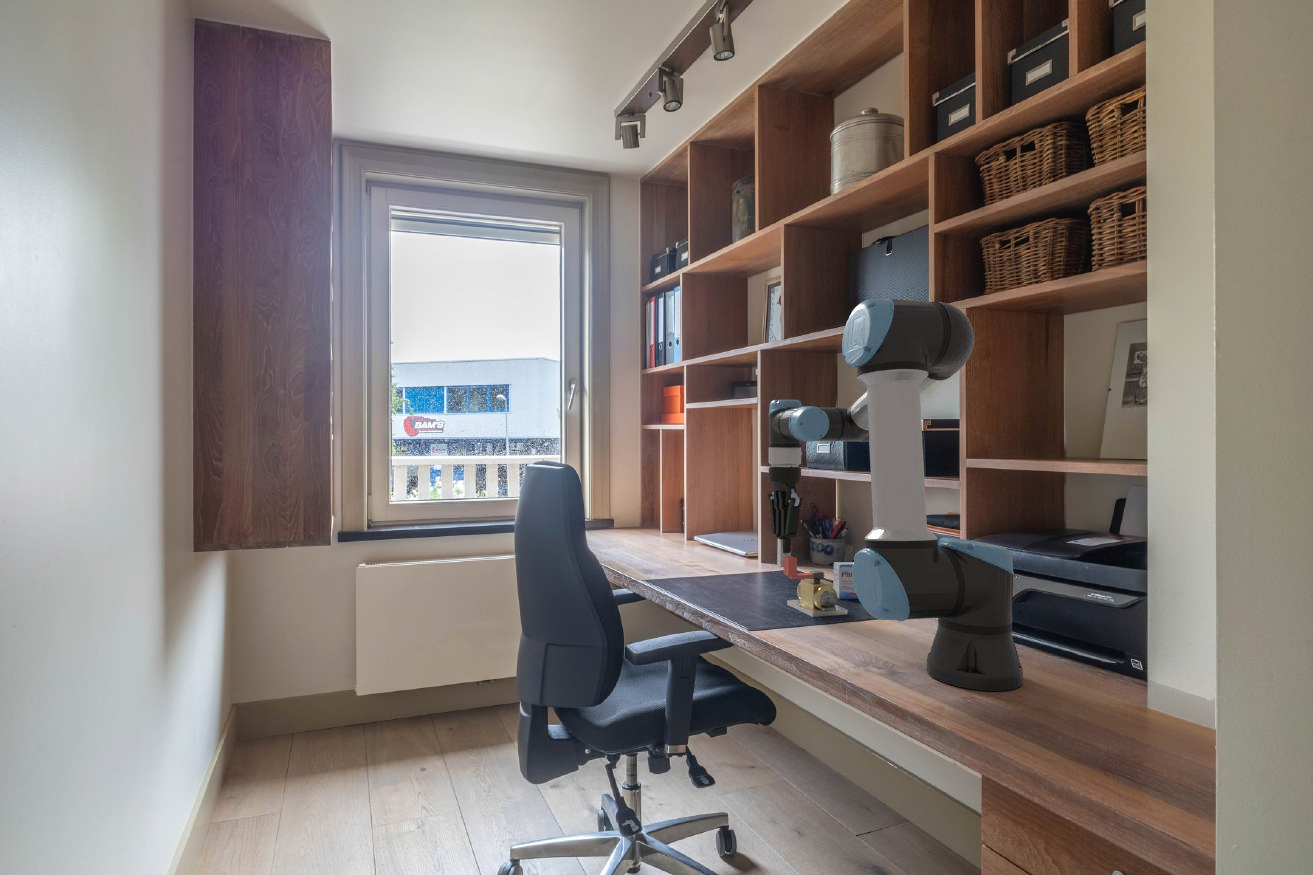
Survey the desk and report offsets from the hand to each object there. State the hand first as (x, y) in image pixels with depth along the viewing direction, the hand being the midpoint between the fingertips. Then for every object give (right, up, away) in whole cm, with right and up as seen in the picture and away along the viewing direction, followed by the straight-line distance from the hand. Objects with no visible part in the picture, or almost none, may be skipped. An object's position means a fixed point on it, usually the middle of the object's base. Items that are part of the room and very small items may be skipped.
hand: (783, 566), depth 172 cm
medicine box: (+19, -10, +13) cm, 25 cm away
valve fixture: (+8, -10, 0) cm, 13 cm away
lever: (+5, -3, -1) cm, 5 cm away
